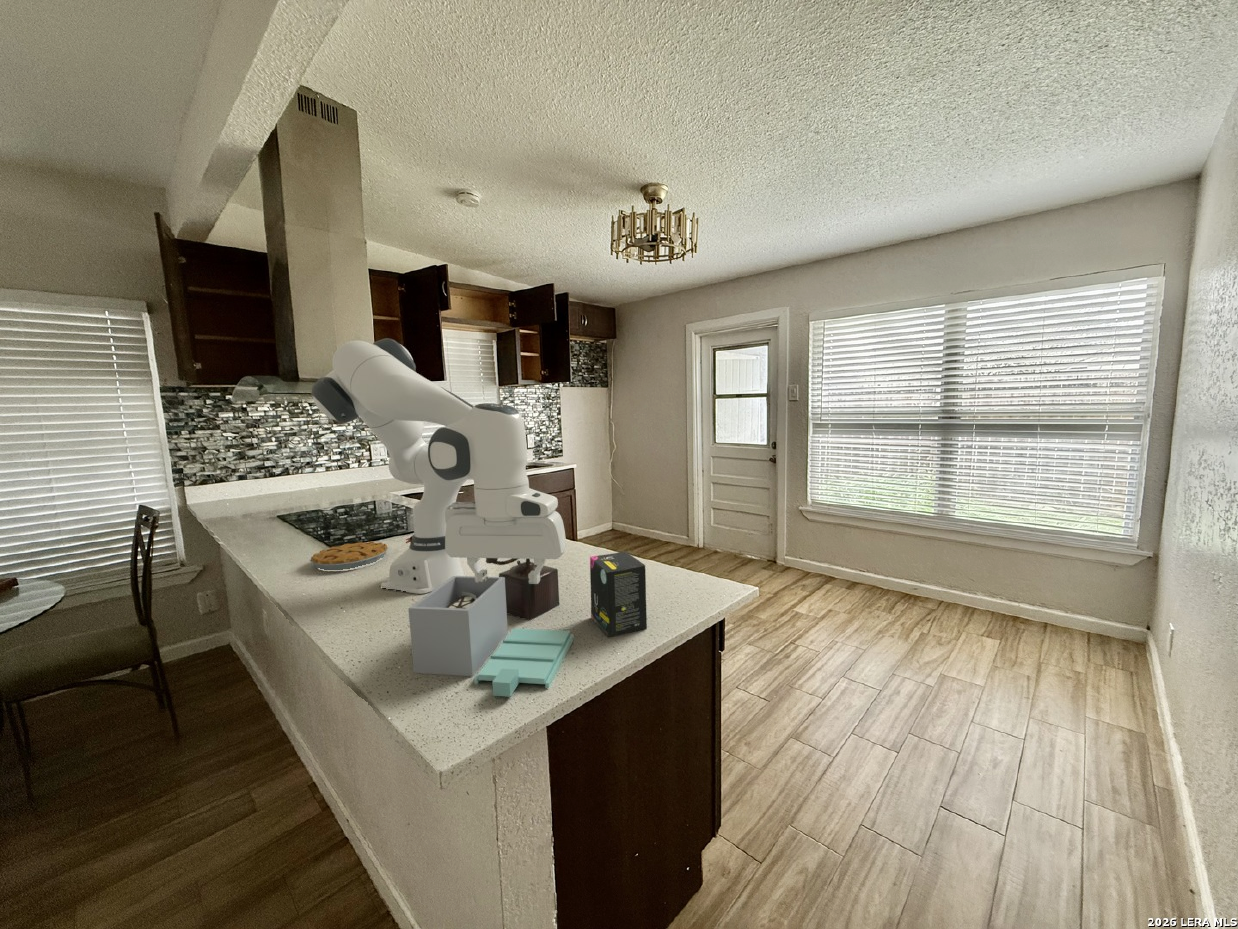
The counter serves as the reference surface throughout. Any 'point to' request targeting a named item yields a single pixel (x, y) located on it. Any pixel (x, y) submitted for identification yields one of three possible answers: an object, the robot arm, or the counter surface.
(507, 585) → the manual coffee grinder
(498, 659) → the lid
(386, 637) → the counter surface
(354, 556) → the pie
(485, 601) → the tub
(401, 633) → the counter surface
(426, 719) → the counter surface
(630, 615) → the tampon box
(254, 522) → the counter surface
